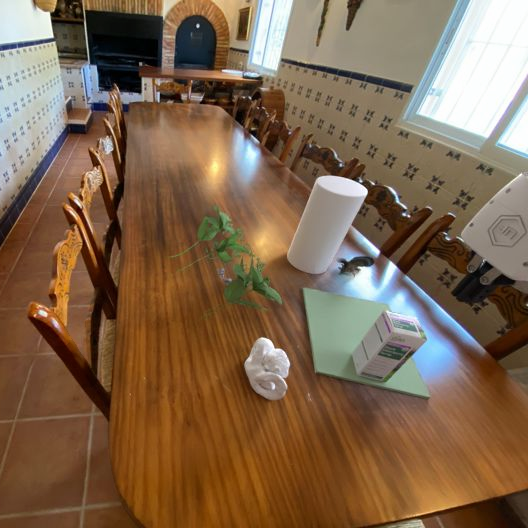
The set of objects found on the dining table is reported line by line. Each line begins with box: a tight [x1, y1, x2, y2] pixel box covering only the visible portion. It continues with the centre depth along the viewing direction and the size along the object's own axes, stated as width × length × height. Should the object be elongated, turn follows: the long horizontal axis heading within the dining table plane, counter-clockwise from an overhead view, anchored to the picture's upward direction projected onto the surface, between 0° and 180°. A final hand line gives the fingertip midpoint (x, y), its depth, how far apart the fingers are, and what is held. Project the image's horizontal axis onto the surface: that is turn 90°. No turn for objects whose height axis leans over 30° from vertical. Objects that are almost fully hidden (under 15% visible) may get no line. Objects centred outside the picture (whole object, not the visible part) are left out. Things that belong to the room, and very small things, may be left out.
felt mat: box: [302, 286, 432, 400], centre depth 70 cm, size 22×26×1 cm
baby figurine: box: [243, 337, 291, 401], centre depth 59 cm, size 9×12×8 cm
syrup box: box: [352, 310, 428, 382], centre depth 58 cm, size 6×6×14 cm
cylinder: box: [286, 175, 368, 275], centre depth 84 cm, size 12×12×25 cm
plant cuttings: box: [168, 205, 283, 326], centre depth 74 cm, size 35×17×22 cm
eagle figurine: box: [336, 255, 375, 278], centre depth 87 cm, size 8×7×9 cm
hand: (464, 298), depth 43 cm, fingers closed
